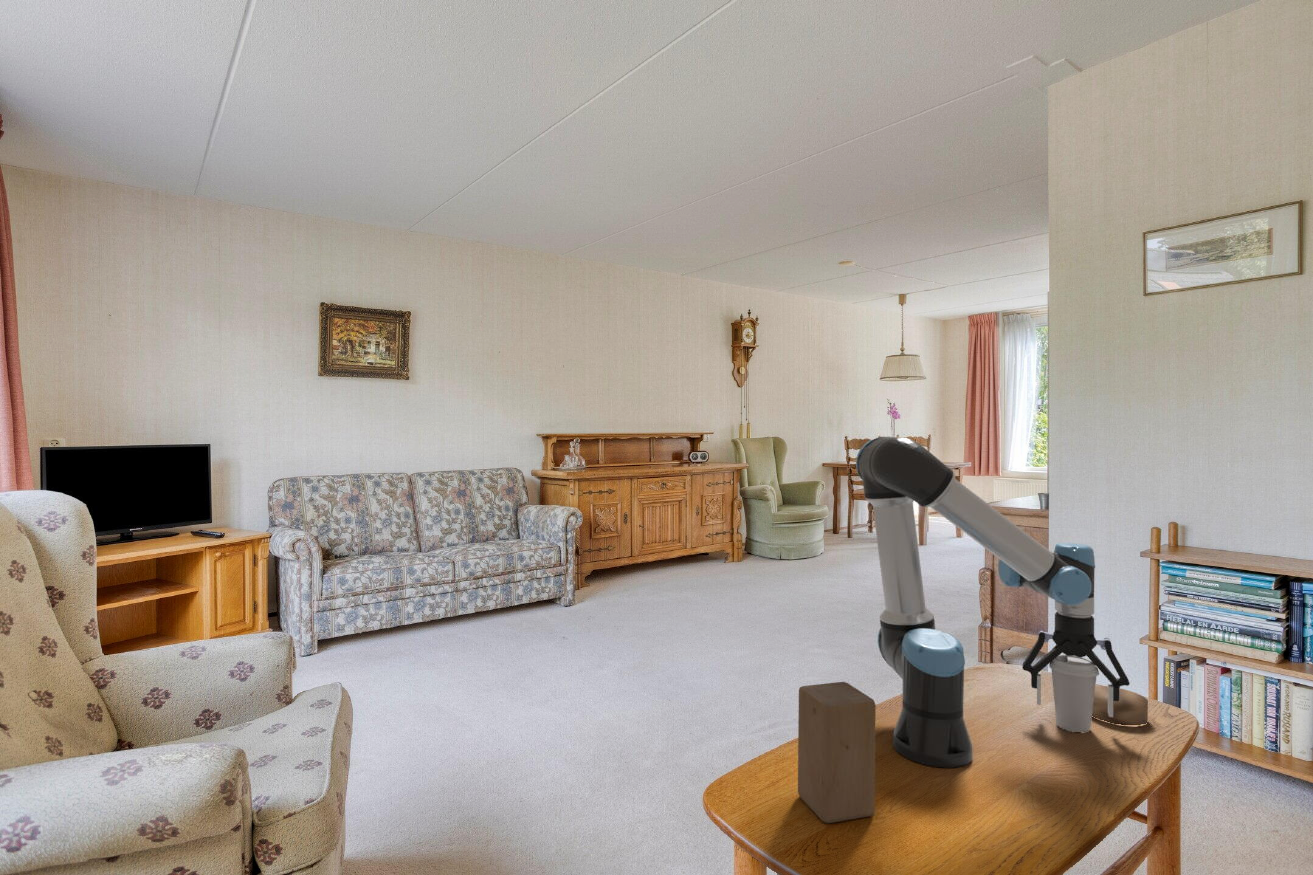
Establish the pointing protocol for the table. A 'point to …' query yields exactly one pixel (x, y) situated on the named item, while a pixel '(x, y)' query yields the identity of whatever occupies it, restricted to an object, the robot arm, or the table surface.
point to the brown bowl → (1120, 707)
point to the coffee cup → (1073, 691)
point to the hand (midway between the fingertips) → (1073, 708)
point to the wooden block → (836, 751)
